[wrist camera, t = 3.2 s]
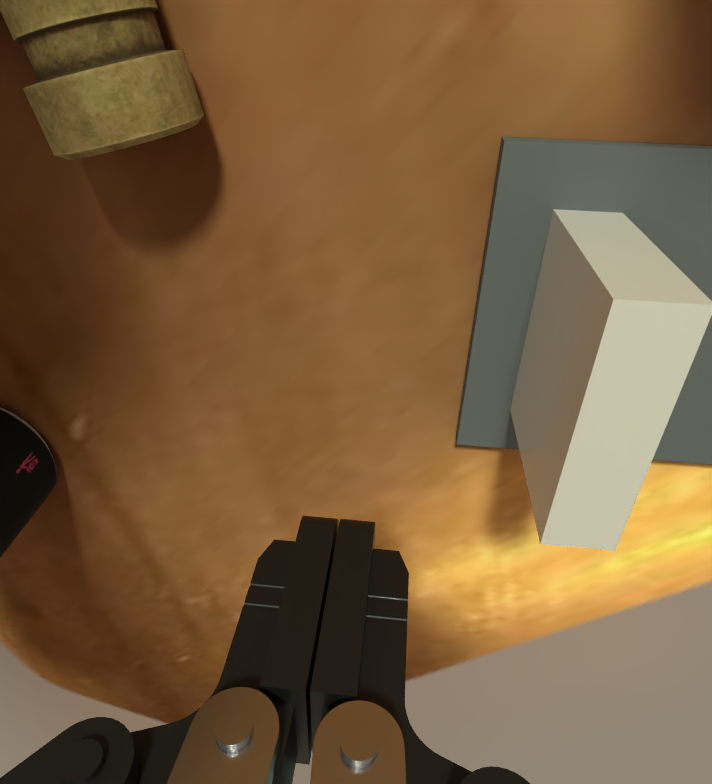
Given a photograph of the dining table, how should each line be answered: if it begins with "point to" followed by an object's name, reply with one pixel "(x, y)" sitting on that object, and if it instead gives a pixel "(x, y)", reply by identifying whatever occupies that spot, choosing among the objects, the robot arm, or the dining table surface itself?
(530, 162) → the mat
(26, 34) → the gavel
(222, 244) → the dining table surface
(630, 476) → the tile
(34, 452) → the beverage can
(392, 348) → the dining table surface
